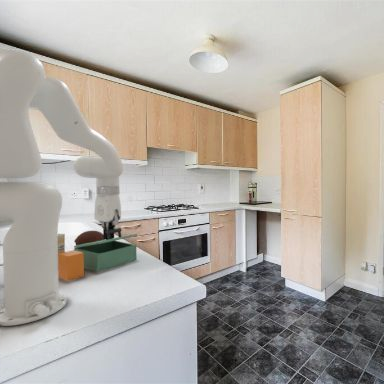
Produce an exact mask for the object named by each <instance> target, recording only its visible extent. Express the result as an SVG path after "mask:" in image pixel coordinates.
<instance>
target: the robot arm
mask: <svg viewBox="0 0 384 384" xmlns="http://www.w3.org/2000/svg"><path fill="white" fill-rule="evenodd" d="M29 110H31V111H32V110H33V111H40V112H41V114H42V115H43V116H44V118H45V120H46V121H47V122H48V124H49V125H50V127H51V129H52V130H53V131H54V133H55V135H56V136H57V137H58V138H59V139H60V140H62V141H64V142H67V143H69V144H72V145H74V146H77V147H80V148H83V149H85V150H88V151H90V152H92V153H94V154H96V155H95V156H94V155H85V156H80V157H77V158H76V159H75V160H74V162H73V170H74V172H75V173H76V174H77V175H78V176H80V177H82V178H84V179H85V178H87V179H95V193H96V195H95V199H94V200H95V201H94V217H93V218H94V220H95V221H97V222H99V223H100V224H101V228H102V229H103V230H102V232H103V233H102V234H103V239H105V240H108V236H107V234H106V230H109V229H115V228H116V226H117V225H119V224H120V223H119V222H120V220H121V219H122V206H121V197H120V192H121V191H120V177H121V176H122V174H123V171H124V165H123V161H122V159H121V156H120V155H119V152H118V150H117V149H116V147H115V146H114V145H113V143H112V142H111V141H109V140H108V139H107V138H105V137H104V136H103V135H102V134H101V133H99V132H98V131H96V130H94V129H93V128H91V127H90V126H89V124H88V122H87V120H86V118H85V117H84V114H83V113H82V111H81V109H80V107H79V105H78V103H77V101H76V99H75V97H74V96H73V94H72V92H71V90H70V88H69V87H68V85H67V84H66V83H65V82H63V80H61V79H58V78H56V77H52V76H46V69H45V67H44V65H43V63H42V62H41V60H39V58H37V57H36V55H35V56H34V55H33V54H31V53H28V52H25V51H21V50H16V49H9V48H8V49H7V48H6V49H5V48H0V223H1V222H2V223H3V222H9V223H10V222H11V223H12V224H11V226H10V228H9V229H8V231H7V232H6V233H5V236H4V238H3V241H2V261H3V263H2V266H3V269H2V270H3V294H4V295H3V300H4V302H3V303H4V308H2V309H1V310H0V326H4V327H10V326H18V325H24V324H28V323H32V322H36V321H40V320H41V319H44V318H46V317H47V318H48V317H49V316H51V315H53V314H56V313H57V312H59V311H61V310H62V309H63V308H64V307H65V306H66V304H67V303H68V302H67V299H68V298H67V296H66V295H64V294H60V293H59V292H60V291H59V290H60V289H59V288H60V287H59V283H60V282H59V270H58V234H59V232H58V231H59V221H60V215H61V211H62V207H63V196H62V193H61V191H60V190H59V189H58V188H57V187H55V186H53V184H49V183H46V182H39V181H3V179H25V178H30V177H31V178H32V177H34V176H36V175H38V174H39V173H40V172H41V170H42V167H43V161H42V156H41V153H40V149H39V147H38V144H37V140H36V138H35V133H34V131H33V127H32V125H31V120H30V116H29V115H30V114H29ZM110 236H111V239H113V238H115V233H111V234H110Z"/></svg>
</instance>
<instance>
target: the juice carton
mask: <svg viewBox="0 0 384 384" xmlns="http://www.w3.org/2000/svg"><path fill="white" fill-rule="evenodd" d="M84 274H85V267H84V253H83V252H79V251H75V250H74V249H73V250H69V251H65V252H63V253H59V254H58V279H59V278H60V279H61V280H65V281H67V282H69V281H72V280H76V279H78V278H82V277H84V276H85V275H84Z"/></svg>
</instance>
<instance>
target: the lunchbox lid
mask: <svg viewBox="0 0 384 384" xmlns="http://www.w3.org/2000/svg"><path fill="white" fill-rule="evenodd" d="M111 233H114V234H115V233H116V234H117V235H118V236H117V237H114V238H113V239H111V236H110V234H111ZM106 234H107V236H108V240H106V239H105V240H101V241H96V242H91V243H86V244H81V245H77V246H76V245H73V249H74V248H78V247H84V246H90V245H96V244H101V243H106V242H110V241H121V240H124V239H130V238H133V237H137V236H138V234H137V233H134V234H127V235H123V236H122V228H121V227H115V228H114V229H109V230H106Z"/></svg>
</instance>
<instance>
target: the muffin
mask: <svg viewBox="0 0 384 384" xmlns="http://www.w3.org/2000/svg"><path fill="white" fill-rule="evenodd" d="M101 240H106V239H103V233H102V232H101V231H98V230H86V231H83V232H82V233H80V234H78V236H77V237H76V238H75V239H74V243H75V246H77V245H81V244H86V243H91V242H96V241H101Z"/></svg>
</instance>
